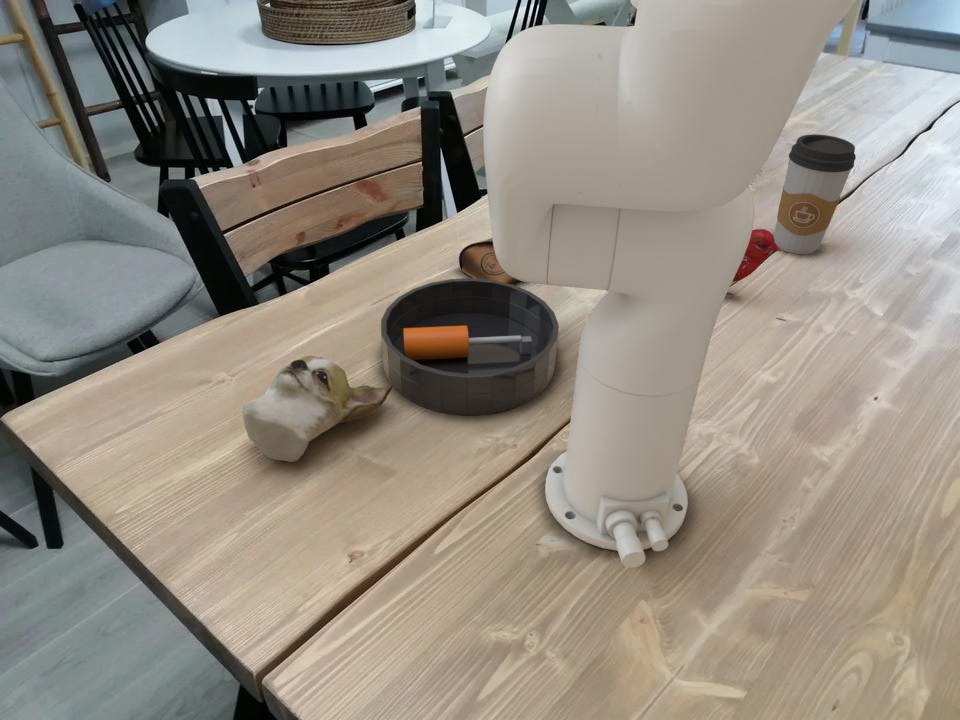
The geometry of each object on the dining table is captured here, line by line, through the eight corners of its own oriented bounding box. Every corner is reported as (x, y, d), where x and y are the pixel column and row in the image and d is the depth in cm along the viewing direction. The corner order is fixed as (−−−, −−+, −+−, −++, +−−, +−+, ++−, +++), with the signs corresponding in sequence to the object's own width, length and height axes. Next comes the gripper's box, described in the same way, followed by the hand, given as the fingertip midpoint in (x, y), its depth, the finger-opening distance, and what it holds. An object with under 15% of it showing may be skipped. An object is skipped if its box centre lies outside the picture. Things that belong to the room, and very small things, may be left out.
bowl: (570, 409, 77) (575, 371, 74) (384, 420, 75) (381, 381, 72) (538, 310, 92) (541, 275, 89) (383, 317, 90) (380, 281, 87)
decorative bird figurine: (763, 310, 93) (784, 238, 87) (626, 278, 99) (637, 209, 93) (766, 299, 95) (787, 229, 89) (632, 269, 101) (643, 200, 95)
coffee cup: (760, 249, 106) (788, 147, 97) (771, 227, 112) (798, 129, 103) (821, 263, 103) (856, 160, 94) (829, 239, 109) (862, 140, 100)
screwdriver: (405, 367, 81) (403, 340, 79) (404, 348, 84) (403, 322, 82) (533, 360, 82) (535, 334, 80) (527, 342, 85) (529, 316, 83)
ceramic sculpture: (199, 377, 65) (312, 309, 76) (213, 452, 70) (318, 377, 81) (291, 420, 61) (397, 341, 72) (299, 496, 66) (397, 411, 77)
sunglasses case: (498, 292, 94) (482, 241, 93) (468, 296, 100) (453, 249, 99) (595, 251, 104) (582, 205, 102) (563, 257, 109) (550, 214, 108)
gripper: (763, -115, 58) (718, 105, 68) (689, -129, 72) (660, 55, 82) (671, -116, 57) (639, 106, 67) (614, -130, 71) (594, 56, 81)
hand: (651, 78), depth 75 cm, fingers open, 9 cm apart
